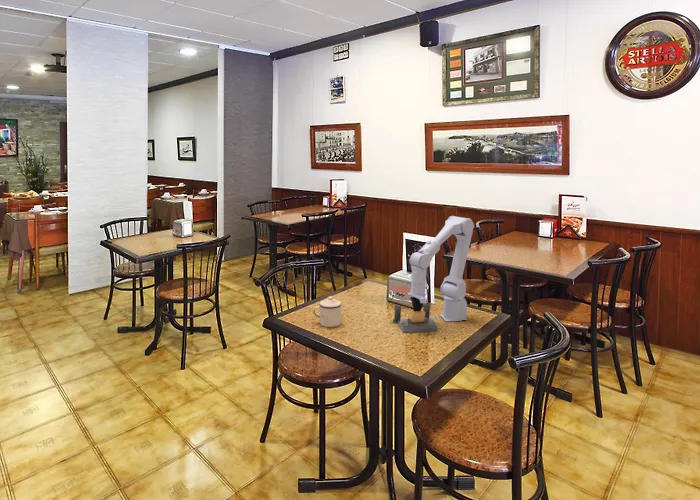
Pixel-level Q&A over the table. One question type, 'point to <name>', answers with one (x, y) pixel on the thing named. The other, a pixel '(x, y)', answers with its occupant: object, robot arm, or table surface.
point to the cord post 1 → (397, 314)
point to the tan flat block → (418, 316)
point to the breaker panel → (417, 325)
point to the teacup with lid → (329, 312)
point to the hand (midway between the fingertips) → (416, 314)
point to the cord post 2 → (427, 310)
